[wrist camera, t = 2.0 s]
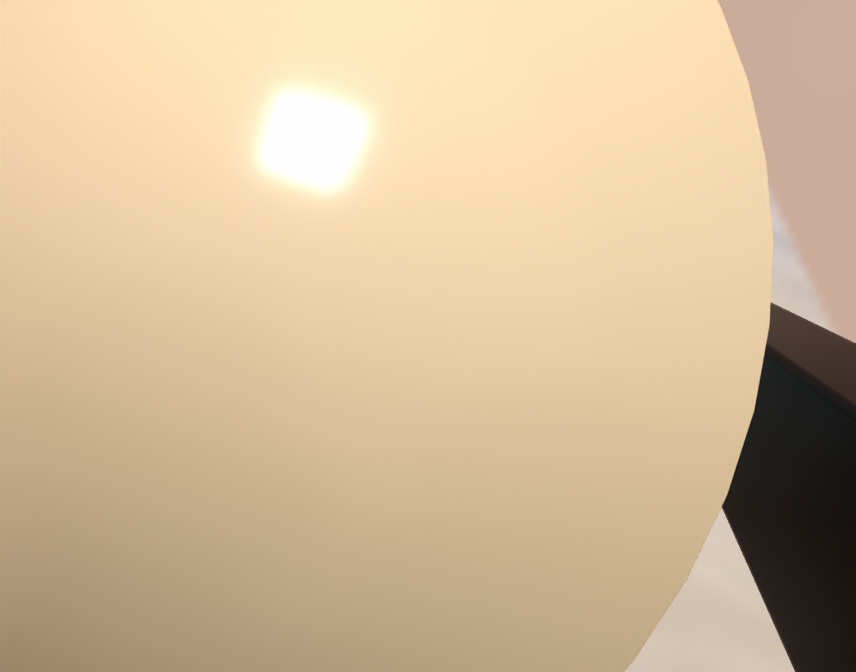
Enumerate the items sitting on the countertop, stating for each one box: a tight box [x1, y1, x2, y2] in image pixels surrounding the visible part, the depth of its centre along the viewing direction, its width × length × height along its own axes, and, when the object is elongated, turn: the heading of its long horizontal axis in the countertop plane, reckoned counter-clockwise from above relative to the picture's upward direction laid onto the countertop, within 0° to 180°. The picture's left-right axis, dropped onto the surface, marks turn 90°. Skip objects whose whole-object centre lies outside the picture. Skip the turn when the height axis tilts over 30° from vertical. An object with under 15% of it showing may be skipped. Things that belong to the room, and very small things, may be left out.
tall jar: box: [0, 0, 773, 672], centre depth 10 cm, size 5×5×14 cm
